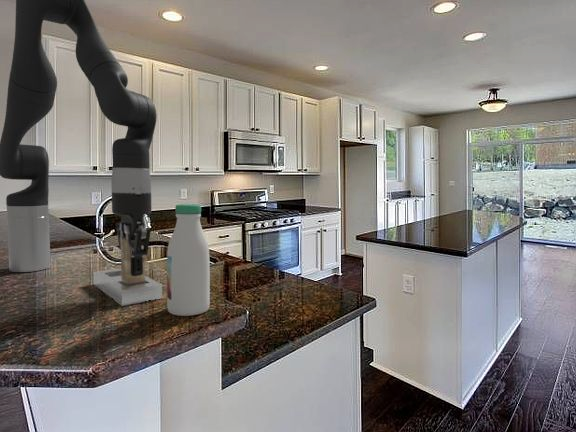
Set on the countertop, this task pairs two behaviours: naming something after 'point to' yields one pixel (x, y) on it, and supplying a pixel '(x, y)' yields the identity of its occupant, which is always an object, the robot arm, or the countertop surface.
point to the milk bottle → (188, 264)
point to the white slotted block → (126, 287)
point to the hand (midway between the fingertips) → (133, 272)
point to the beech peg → (129, 265)
